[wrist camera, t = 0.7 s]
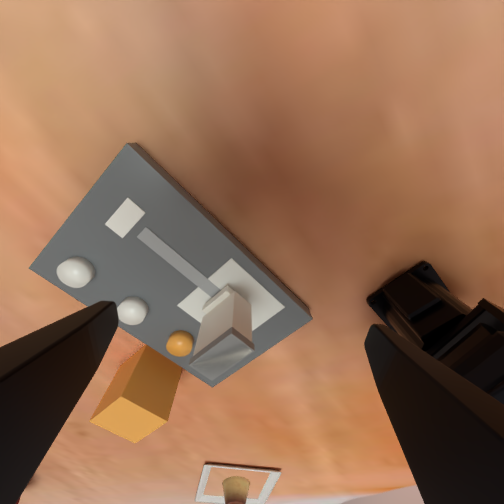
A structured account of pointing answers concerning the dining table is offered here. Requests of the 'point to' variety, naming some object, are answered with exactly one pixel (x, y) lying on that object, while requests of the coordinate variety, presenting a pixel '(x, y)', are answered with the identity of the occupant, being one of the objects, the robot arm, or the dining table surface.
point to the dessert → (236, 487)
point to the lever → (223, 334)
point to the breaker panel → (162, 263)
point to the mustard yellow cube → (139, 395)
